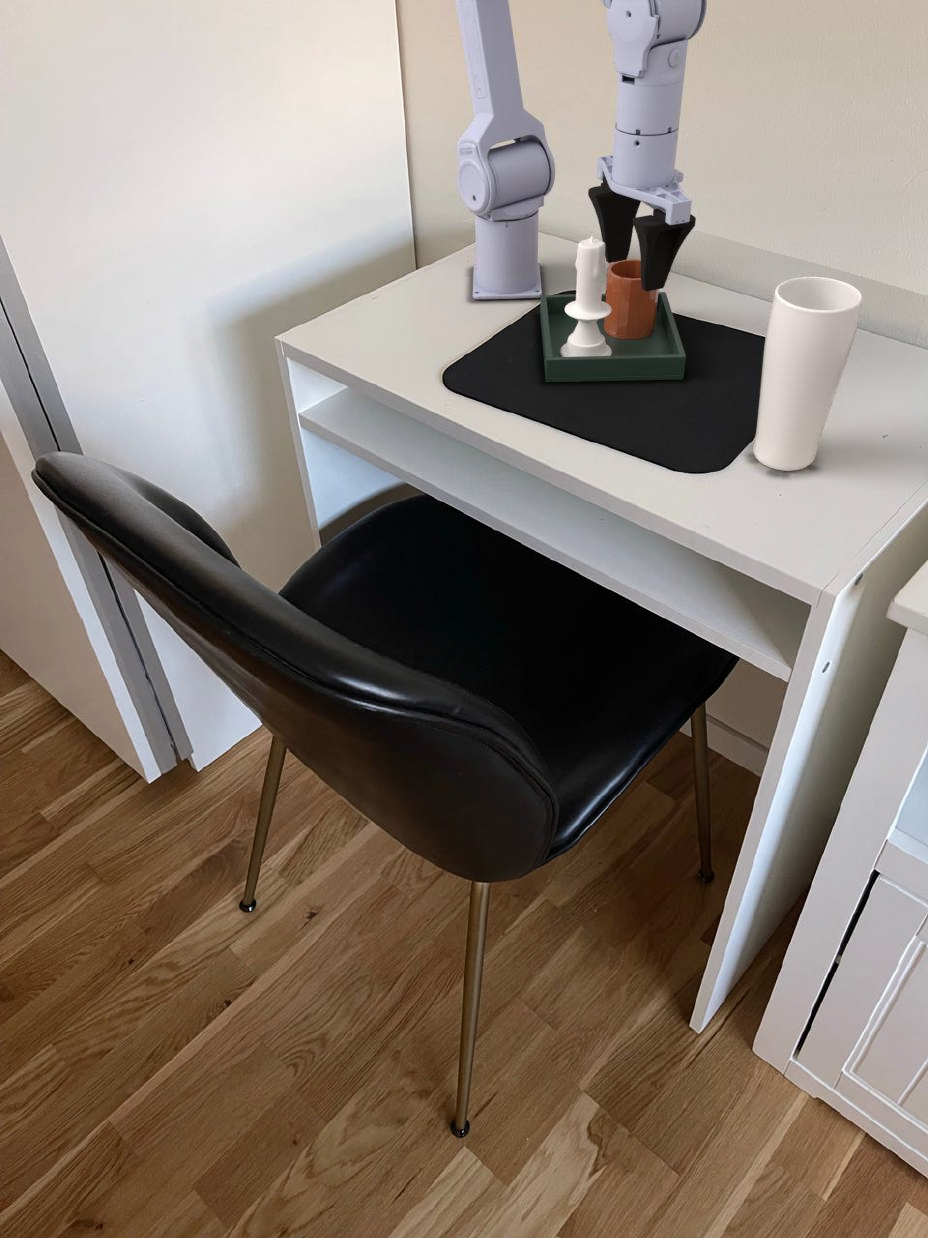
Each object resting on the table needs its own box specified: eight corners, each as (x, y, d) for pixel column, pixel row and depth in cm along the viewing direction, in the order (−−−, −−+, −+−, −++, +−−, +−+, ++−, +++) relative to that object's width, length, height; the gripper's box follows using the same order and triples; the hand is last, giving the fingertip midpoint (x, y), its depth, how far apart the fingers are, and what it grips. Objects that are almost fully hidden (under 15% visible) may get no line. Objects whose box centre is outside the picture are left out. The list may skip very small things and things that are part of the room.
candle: (563, 339, 102) (567, 225, 94) (613, 342, 101) (622, 227, 93) (556, 363, 98) (560, 246, 90) (609, 366, 97) (617, 248, 89)
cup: (601, 317, 106) (605, 259, 101) (650, 316, 105) (656, 258, 101) (605, 340, 102) (609, 280, 97) (657, 339, 101) (663, 279, 97)
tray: (540, 316, 108) (540, 294, 106) (663, 313, 107) (665, 291, 105) (545, 382, 96) (546, 359, 95) (683, 379, 96) (686, 356, 94)
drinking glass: (737, 437, 88) (766, 276, 78) (812, 436, 87) (851, 274, 77) (751, 479, 83) (784, 312, 73) (831, 478, 82) (875, 310, 72)
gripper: (729, 141, 83) (707, 294, 92) (646, 101, 93) (634, 242, 102) (656, 153, 81) (642, 307, 90) (580, 111, 91) (574, 253, 100)
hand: (634, 274), depth 96 cm, fingers open, 7 cm apart
